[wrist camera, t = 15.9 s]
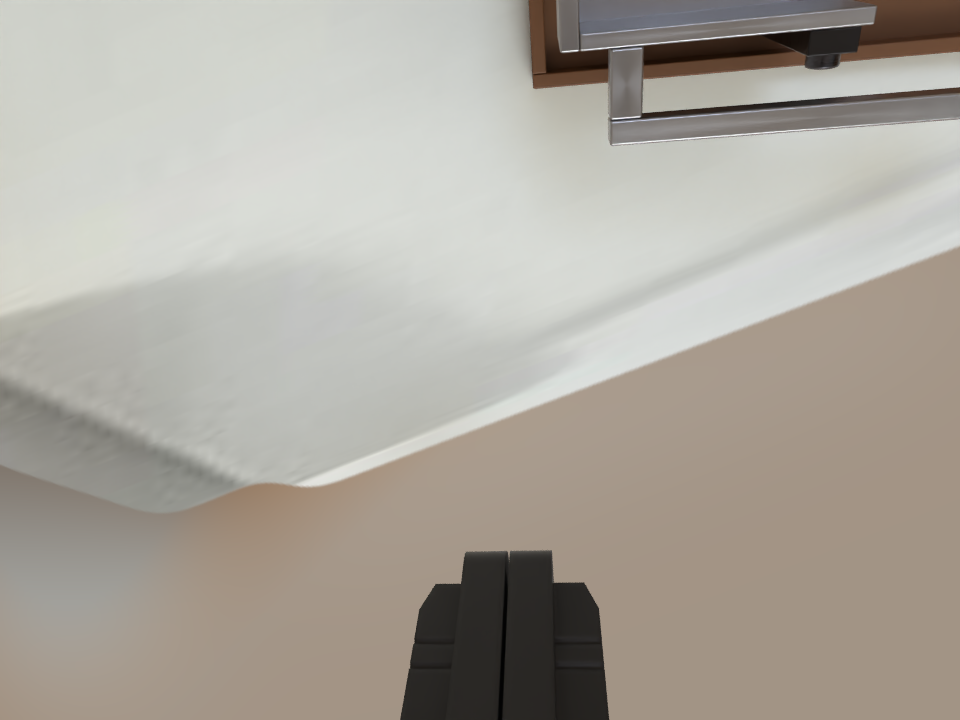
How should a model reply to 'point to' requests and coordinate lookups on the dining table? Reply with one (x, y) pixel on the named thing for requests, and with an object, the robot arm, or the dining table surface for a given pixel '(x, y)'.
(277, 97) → the dining table surface
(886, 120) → the fryer basket
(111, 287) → the dining table surface
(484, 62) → the dining table surface
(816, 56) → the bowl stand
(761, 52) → the tray
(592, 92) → the dining table surface
